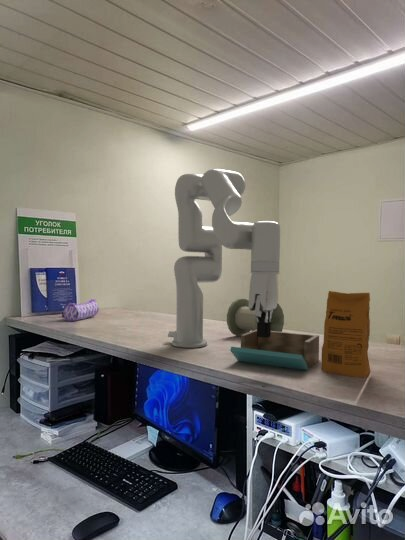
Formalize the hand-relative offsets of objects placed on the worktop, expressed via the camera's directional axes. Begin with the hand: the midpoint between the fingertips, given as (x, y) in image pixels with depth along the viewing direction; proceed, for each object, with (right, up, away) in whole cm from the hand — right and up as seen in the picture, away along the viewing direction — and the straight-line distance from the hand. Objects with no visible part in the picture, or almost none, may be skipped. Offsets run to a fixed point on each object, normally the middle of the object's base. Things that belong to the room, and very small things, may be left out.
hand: (263, 336), depth 107 cm
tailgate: (+3, -9, +6) cm, 11 cm away
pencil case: (-79, -8, +100) cm, 128 cm away
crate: (+7, -10, +12) cm, 16 cm away
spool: (+4, -9, +51) cm, 52 cm away
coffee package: (+22, -10, 0) cm, 24 cm away
